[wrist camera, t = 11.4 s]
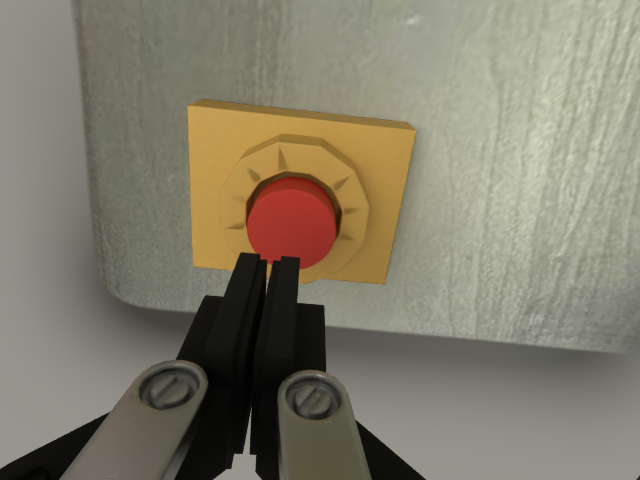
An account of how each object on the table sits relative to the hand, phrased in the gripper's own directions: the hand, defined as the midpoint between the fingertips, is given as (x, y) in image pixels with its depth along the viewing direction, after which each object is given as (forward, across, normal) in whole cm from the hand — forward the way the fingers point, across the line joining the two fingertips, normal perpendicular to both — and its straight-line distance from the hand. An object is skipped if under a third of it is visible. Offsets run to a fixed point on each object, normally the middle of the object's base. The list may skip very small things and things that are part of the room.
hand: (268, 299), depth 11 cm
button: (+7, 0, 0) cm, 7 cm away
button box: (+10, 0, 0) cm, 11 cm away
